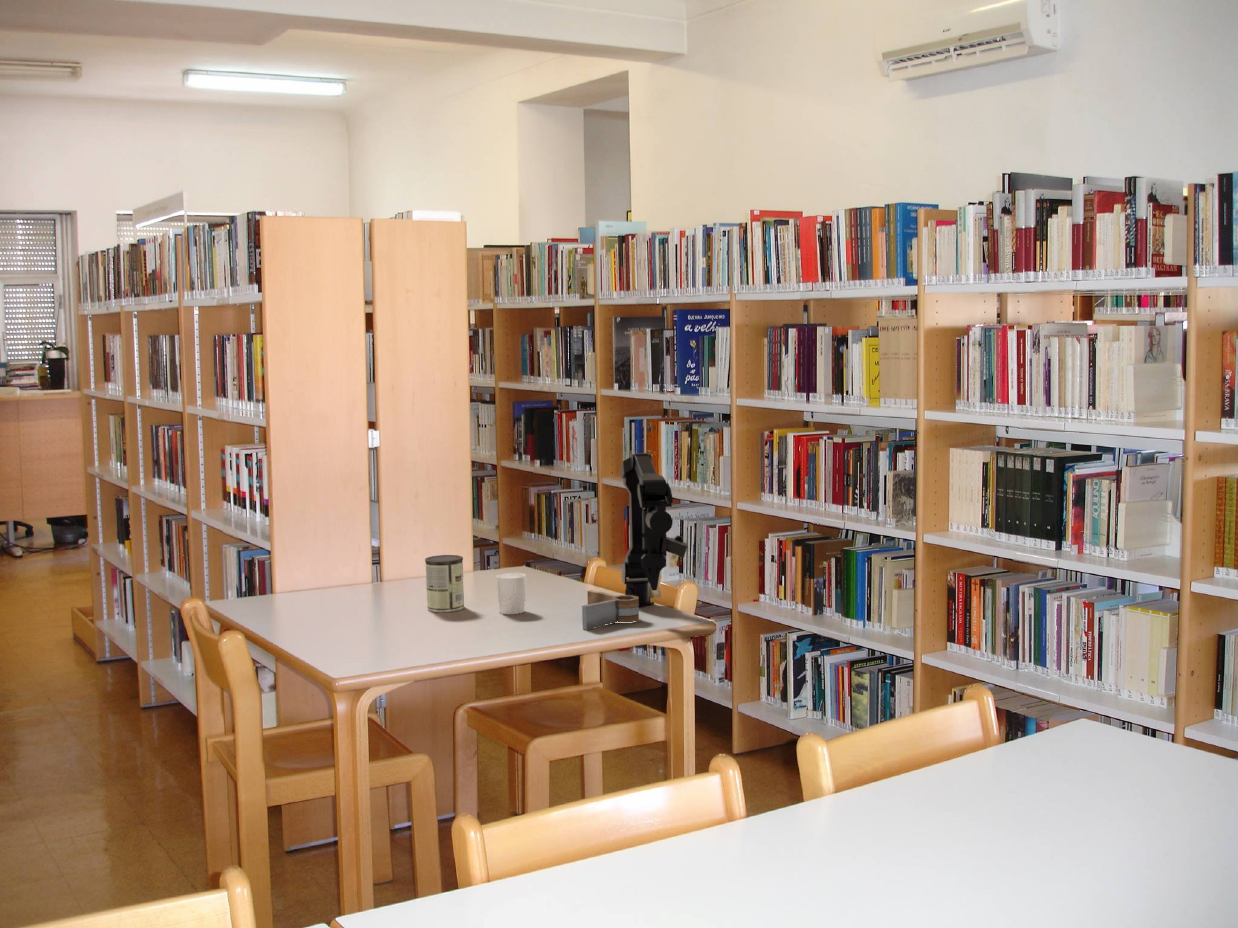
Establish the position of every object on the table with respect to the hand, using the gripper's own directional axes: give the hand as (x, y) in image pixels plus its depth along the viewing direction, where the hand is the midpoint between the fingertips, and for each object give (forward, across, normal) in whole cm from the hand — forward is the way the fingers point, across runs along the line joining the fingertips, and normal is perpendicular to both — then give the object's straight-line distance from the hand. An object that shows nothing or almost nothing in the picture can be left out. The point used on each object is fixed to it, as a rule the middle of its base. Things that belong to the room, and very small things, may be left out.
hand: (654, 588), depth 301 cm
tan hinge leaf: (+9, +9, +12) cm, 17 cm away
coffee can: (+10, +21, +58) cm, 63 cm away
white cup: (+10, +16, +39) cm, 43 cm away
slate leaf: (+9, +1, +12) cm, 15 cm away
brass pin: (+2, 0, 0) cm, 2 cm away
